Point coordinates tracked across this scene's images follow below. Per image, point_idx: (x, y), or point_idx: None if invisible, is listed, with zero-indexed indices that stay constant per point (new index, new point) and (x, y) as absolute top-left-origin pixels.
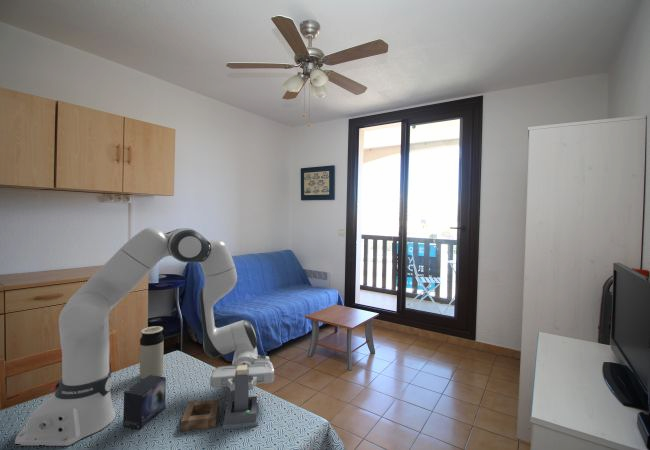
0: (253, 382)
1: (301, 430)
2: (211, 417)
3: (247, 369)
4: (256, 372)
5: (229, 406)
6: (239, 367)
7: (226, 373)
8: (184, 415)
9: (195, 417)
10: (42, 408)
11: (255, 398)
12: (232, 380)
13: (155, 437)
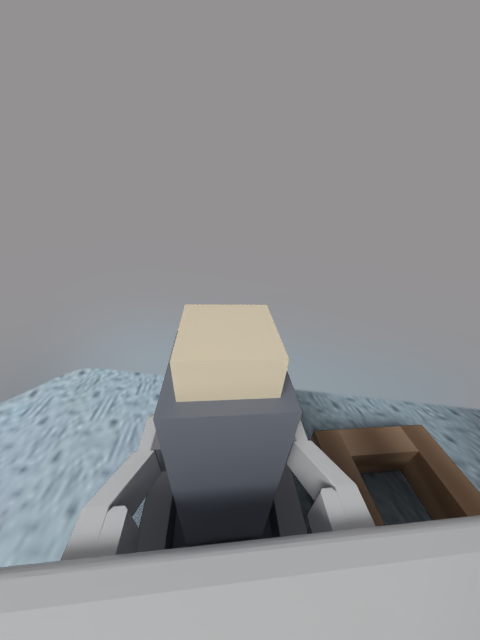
0: (137, 455)
1: (40, 406)
2: (328, 433)
3: (173, 402)
4: (31, 606)
5: (283, 490)
6: (255, 331)
7: (469, 616)
8: (445, 458)
9: (388, 438)
10: None
11: None
12: (321, 514)
13: (454, 427)
